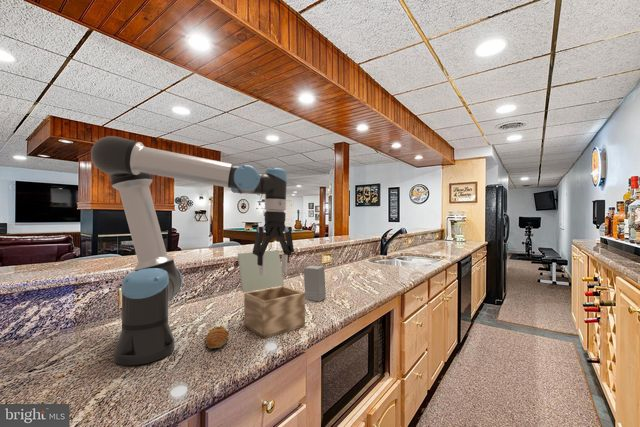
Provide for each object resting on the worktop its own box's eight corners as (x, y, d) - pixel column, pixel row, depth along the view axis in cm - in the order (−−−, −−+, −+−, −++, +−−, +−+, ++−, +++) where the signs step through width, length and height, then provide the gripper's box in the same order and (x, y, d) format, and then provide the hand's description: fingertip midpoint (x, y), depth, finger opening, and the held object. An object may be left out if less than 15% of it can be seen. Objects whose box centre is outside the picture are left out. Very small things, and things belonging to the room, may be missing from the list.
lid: (238, 253, 111) (236, 254, 112) (243, 292, 108) (241, 293, 109) (278, 250, 122) (276, 250, 123) (284, 285, 119) (282, 285, 120)
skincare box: (326, 299, 143) (326, 266, 143) (318, 302, 137) (318, 268, 137) (311, 296, 148) (311, 264, 148) (303, 299, 141) (303, 266, 142)
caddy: (263, 338, 97) (263, 302, 97) (244, 326, 108) (244, 293, 108) (304, 326, 108) (305, 293, 108) (283, 316, 119) (283, 286, 119)
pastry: (226, 349, 89) (227, 336, 89) (202, 351, 87) (203, 338, 87) (228, 336, 98) (229, 325, 98) (206, 338, 96) (207, 326, 96)
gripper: (253, 210, 98) (251, 278, 98) (304, 212, 112) (303, 272, 112) (243, 210, 104) (241, 274, 104) (293, 212, 118) (291, 269, 118)
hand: (273, 273), depth 108 cm, fingers open, 9 cm apart
